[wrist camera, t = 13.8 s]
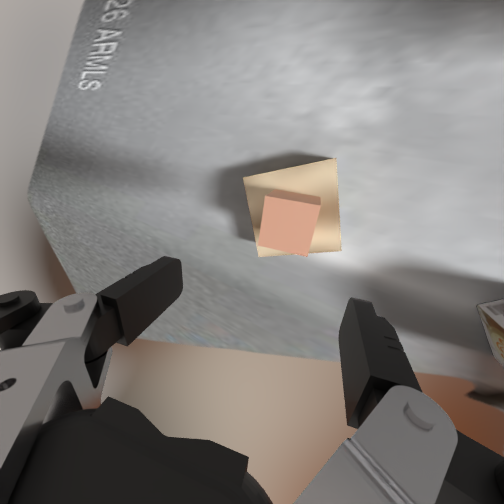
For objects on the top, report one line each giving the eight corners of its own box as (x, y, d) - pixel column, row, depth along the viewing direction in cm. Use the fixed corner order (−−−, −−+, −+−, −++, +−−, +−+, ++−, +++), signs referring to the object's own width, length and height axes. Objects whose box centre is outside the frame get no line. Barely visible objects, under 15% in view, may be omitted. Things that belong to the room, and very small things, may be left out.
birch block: (254, 175, 29) (242, 177, 24) (333, 158, 25) (336, 157, 21) (267, 243, 32) (258, 257, 28) (338, 237, 29) (341, 250, 24)
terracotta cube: (275, 189, 24) (265, 195, 19) (320, 197, 23) (320, 205, 18) (268, 231, 26) (257, 245, 21) (309, 239, 25) (307, 256, 20)
